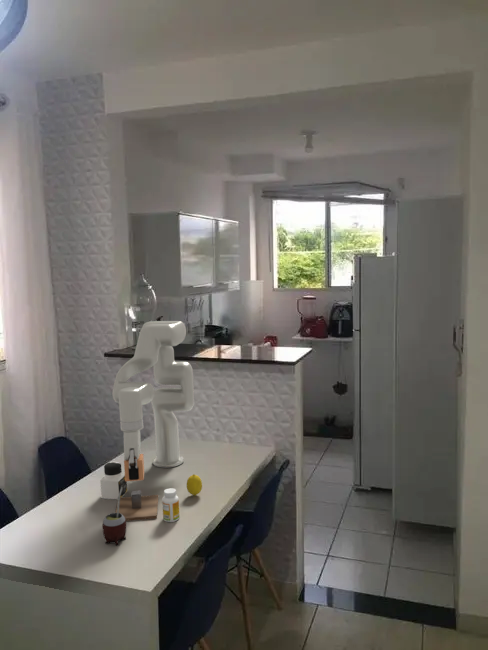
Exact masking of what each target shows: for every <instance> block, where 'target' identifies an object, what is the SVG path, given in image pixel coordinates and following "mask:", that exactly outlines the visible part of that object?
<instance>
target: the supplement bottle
mask: <svg viewBox="0 0 488 650" xmlns="http://www.w3.org/2000/svg"><path fill="white" fill-rule="evenodd" d="M161 501H162V502H161V504H162V519H163V521H165V522H167V523H172V522H173V523H174V522H177V521H179V519H180V500H179V496H178V495H177V489H176V488H173V487H171V488H166V489H164V490H163V497H162V498H161Z"/></svg>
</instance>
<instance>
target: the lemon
mask: <svg viewBox="0 0 488 650" xmlns="http://www.w3.org/2000/svg"><path fill="white" fill-rule="evenodd" d="M186 489H187V492H188V493H189V494H191V495H193V496H194V497H196V496H197V495H198V494H200V493H201V491H202V489H203V482H202V479H201V477H200V476H199V475H197V474H192V475H190V476H189V477H188V478H187V481H186Z"/></svg>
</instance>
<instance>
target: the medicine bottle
mask: <svg viewBox="0 0 488 650" xmlns="http://www.w3.org/2000/svg"><path fill="white" fill-rule="evenodd" d="M103 469H104V470H103V471H104V476H103V477H102V478H101V479H100V482H99V483H100V495H101V499H103V500H118V496H119V492H120V489H121V487H123V488H122V492H121V495H120V498H123V497H124V496H125V494H126V493H127V492H128V481H125V472H123V471H122V463H120V462H119V461H110V462H107V463H106V464H104V466H103Z"/></svg>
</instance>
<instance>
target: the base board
mask: <svg viewBox="0 0 488 650" xmlns="http://www.w3.org/2000/svg"><path fill="white" fill-rule="evenodd" d="M141 501H142V505H141V508H135V509H132V498H131V496H126V497H124V496H122V497H121V498H120V503H119V513H120V514H122V515H123V516H124V517H125V520H126V522H130V521H144V520H154V519H155V520H156V519H157V518H158V508H159V494H151V495H141ZM117 506H118V502H117V503H116V507H115V512H114V513H117Z"/></svg>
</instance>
